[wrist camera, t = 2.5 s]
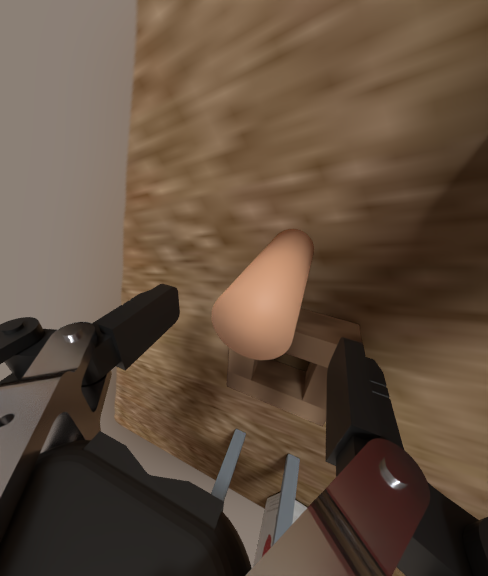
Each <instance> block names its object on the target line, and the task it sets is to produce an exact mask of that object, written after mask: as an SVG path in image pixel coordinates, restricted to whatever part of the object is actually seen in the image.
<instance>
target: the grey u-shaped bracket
mask: <svg viewBox="0 0 488 576" xmlns="http://www.w3.org/2000/svg"><path fill="white" fill-rule="evenodd" d="M245 435H246V433H244V432H242V431H240V430H238V429H236V430H235V432H234V435H233V438H232V440H231V443H230V445H229V448H228V451H227V453H226V456H225V459H224V461H223V464H222V466H221V469H220V472H219V474H218V477H217V479H216V482H215V485H214V487H213V490H212V493H211V494H212V495H213V496H215V497H217V498H219V499H221V500H222V501H224V499H225V496H226V493H227V490H228V487H229V484H230V481H231V478H232V475H233V472H234V469H235V466H236V463H237V460H238V457H239V454H240V451H241V448H242V445H243V443H244V440H245ZM299 461H300V459H299V458H297V457H295V456H293V455H290V454H288V455H287V458H286V462H285V468H284V474H283V480H282V487H281V493H280V499H279V505H278V511H277V517H276V523H275V529H274V535H273V541H272V546H273V545H274V544H275V543H276V542H277V541H278V539H279V538H280V537H281V536H282V535H283V534H284V533H285V532H286V531H287V530H288V529H289V527H290V526H291V525H292V522H293V513H294V505H295V496H296V487H297V479H298V470H299Z"/></svg>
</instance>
